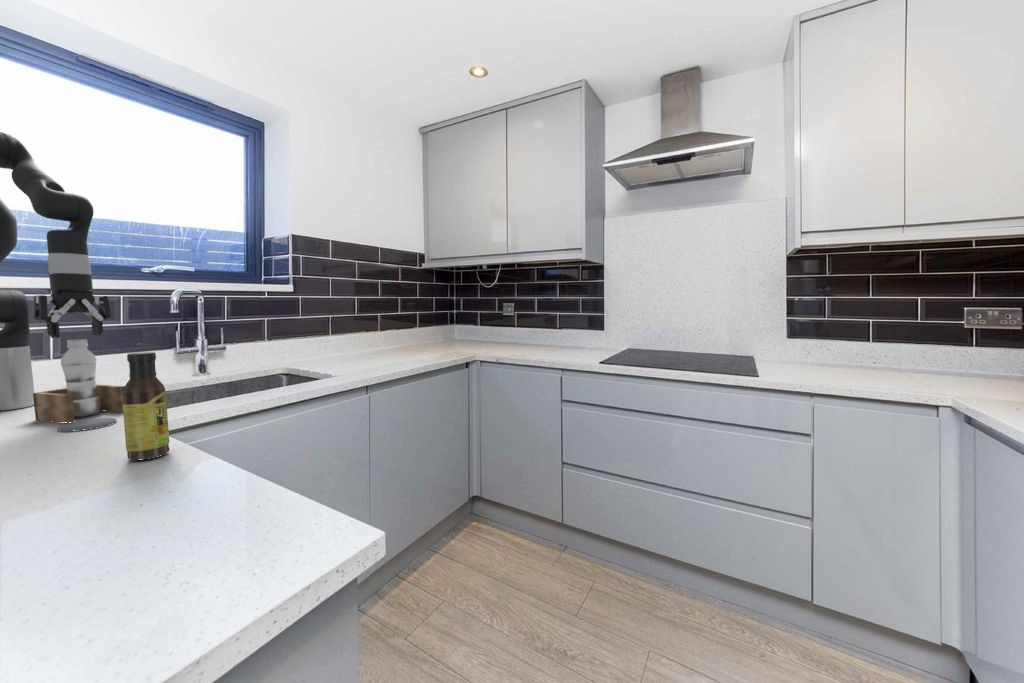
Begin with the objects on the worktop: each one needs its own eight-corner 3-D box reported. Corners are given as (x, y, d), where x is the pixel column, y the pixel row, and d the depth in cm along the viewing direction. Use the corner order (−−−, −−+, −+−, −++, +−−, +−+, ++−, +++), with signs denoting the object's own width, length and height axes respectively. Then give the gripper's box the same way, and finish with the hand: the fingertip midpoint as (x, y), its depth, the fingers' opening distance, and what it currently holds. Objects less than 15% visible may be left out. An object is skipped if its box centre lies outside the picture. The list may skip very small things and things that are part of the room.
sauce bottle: (168, 458, 80) (160, 353, 78) (124, 465, 77) (114, 355, 75) (172, 448, 85) (164, 350, 84) (130, 454, 82) (122, 352, 80)
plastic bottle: (109, 413, 114) (102, 338, 112) (81, 419, 107) (73, 340, 106) (87, 412, 115) (80, 338, 113) (58, 419, 108) (50, 340, 106)
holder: (35, 420, 107) (32, 393, 106) (95, 408, 119) (93, 384, 118) (68, 424, 104) (66, 395, 103) (126, 411, 116) (124, 386, 115)
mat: (46, 430, 99) (46, 427, 99) (98, 418, 108) (98, 416, 108) (76, 433, 96) (75, 430, 96) (126, 421, 106) (126, 419, 105)
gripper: (94, 275, 116) (100, 334, 117) (22, 271, 102) (29, 338, 103) (113, 274, 114) (119, 334, 115) (43, 270, 100) (50, 338, 101)
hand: (76, 336), depth 109 cm, fingers open, 8 cm apart
